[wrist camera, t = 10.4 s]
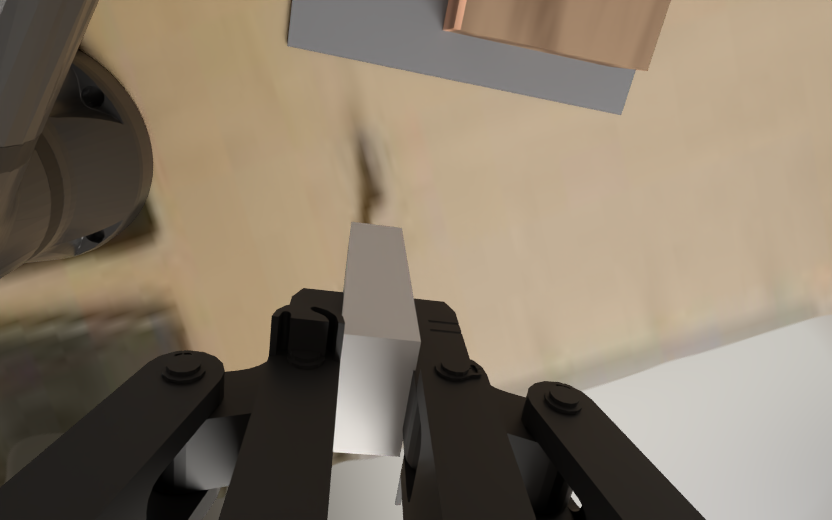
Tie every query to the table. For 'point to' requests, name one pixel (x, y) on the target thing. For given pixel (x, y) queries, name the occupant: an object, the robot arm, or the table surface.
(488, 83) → the grey mat
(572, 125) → the table surface
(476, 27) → the light brown wooden block
